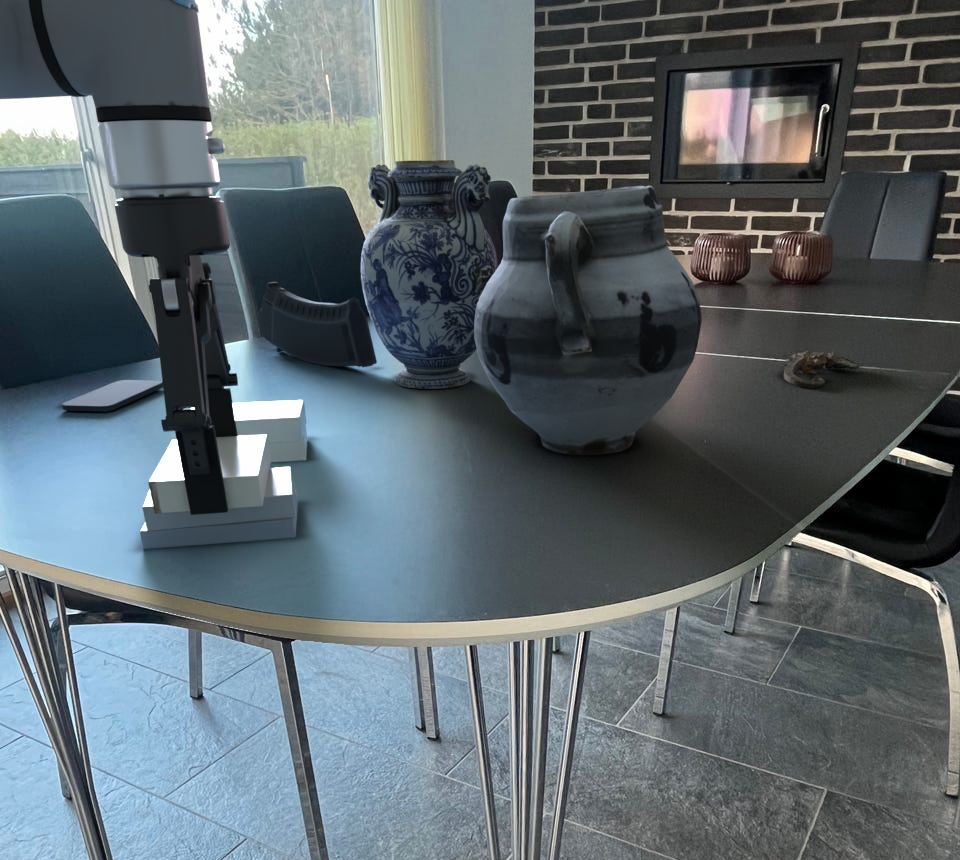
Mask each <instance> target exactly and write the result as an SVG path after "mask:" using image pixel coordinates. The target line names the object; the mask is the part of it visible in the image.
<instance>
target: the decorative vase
mask: <svg viewBox="0 0 960 860" xmlns="http://www.w3.org/2000/svg"><path fill="white" fill-rule="evenodd" d="M455 163H456V162H455V160H454V159H446V160H445V159H444V160H396V161H395V162H394V167H393V169H390V168H389V167H388V165H386V164H376V165H375V166H373V167H371V168H370V172H369V174H368V176H367V177H368V182H367V185H368V189H369V190H370V194H369V196H370V198H371V199H373V200H374V203H375V205H377V207H379V208H380V209H381V212H380V216H379V218H378V222H377V224H376V225H374V227H372V228H371V230H370V231H369V232H368V234H367V236H366V238H365V240H364V241H363V245H362V249H361V254H360V255H361V256H360V281H361V288H362V293H363V298H364V302H365V305H366V308H367V312H368V313H369V317H370V320H371V322H372V325H373V327H374V329H375V332H376V334H377V335H378V338H379V339H380V341H381V342H382V344H383V346H384V348H386V350H387V351H388V353H389V354H390V355H391V356H392V357H393V358H395V359H396V360H398V362H399V363H401V364H403V366H404V369H402V370H401V371H400V372H399V373H397V374H396V376H395V384H396V385H398V386H400V387H403V388H409V389H417V390H418V389H419V390H443V389H453V388H457V387H459V388H460V387H461V386H465V385H467V384H468V383H470V381H471V380H470V374H469V373H468V372H467V371H465V370H463V369H462V368H460V366H461V364H462V363H464V362H466V360H467V359H469V358H470V357H471V356H472V355H473V354H474V353H475V352H476V350H477V348H476V343H475V339H474V320H475V313H476V307H477V303H478V301H479V298H480V296H481V294H482V292H483V290H484V288H485V286H486V284H487V282H488V281H489V280H490V278H491V277H492V275H493V274H494V272H495V271H496V270H497V268H498V267H499V265H498V258H497V251H496V248H495V245H494V241H493V239H492V238H491V236H490V234H489V233H488V231H487V229H486V228H485V226H484V223H483V220H482V218H481V215H480V213H479V211H480V210H481V209H482V208H483V206H484V204H485V203H488V202H489V201H490V200H491V196H490V194H489V192H490V191H491V180H492V176H491V175H490V174H489V172H488V169H487V168H486V167H485V166H481V165H479V164H476V163H475V164H474V165H473V164H469V165H468V166H467V168H465V170H464V171H462V170H461V169H460V168H457V167H456V164H455ZM382 202H383V203H382Z"/></svg>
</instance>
